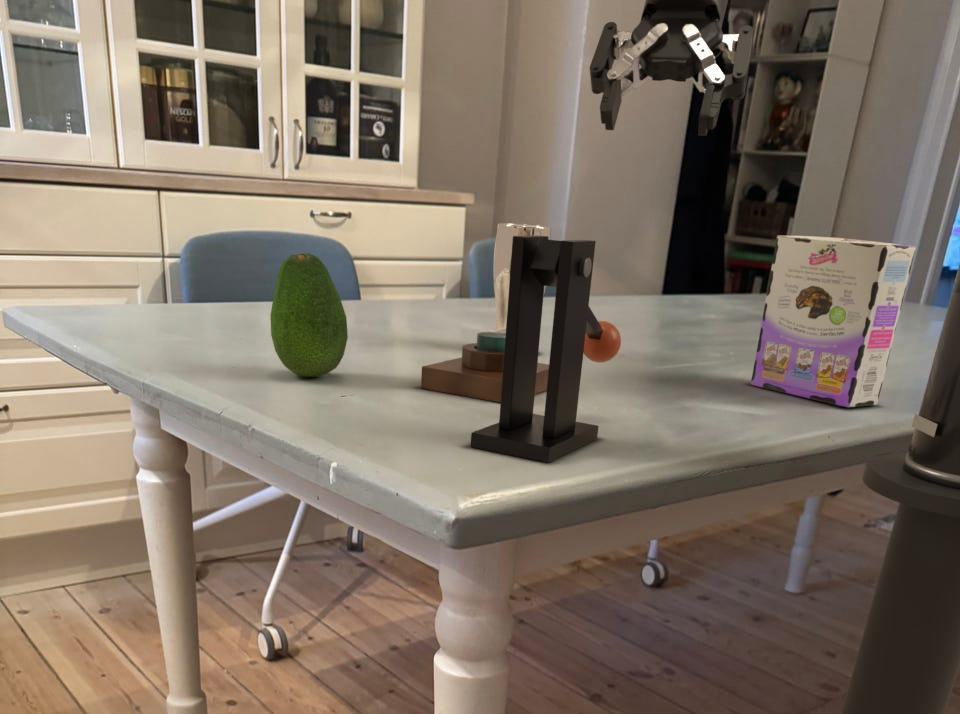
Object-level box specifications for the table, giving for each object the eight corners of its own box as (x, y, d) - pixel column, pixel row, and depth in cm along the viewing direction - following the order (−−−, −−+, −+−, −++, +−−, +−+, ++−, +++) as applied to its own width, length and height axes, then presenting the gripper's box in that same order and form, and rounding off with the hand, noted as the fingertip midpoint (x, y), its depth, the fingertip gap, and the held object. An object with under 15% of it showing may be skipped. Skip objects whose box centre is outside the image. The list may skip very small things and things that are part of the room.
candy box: (879, 406, 103) (920, 245, 95) (847, 410, 99) (886, 243, 92) (779, 381, 112) (809, 234, 105) (747, 384, 109) (775, 232, 102)
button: (516, 352, 97) (518, 335, 96) (500, 356, 94) (502, 338, 93) (486, 348, 98) (487, 330, 98) (470, 351, 96) (471, 334, 95)
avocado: (259, 372, 97) (254, 248, 92) (326, 368, 101) (325, 250, 96) (292, 387, 91) (289, 256, 86) (362, 382, 96) (363, 257, 90)
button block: (557, 386, 101) (561, 348, 99) (506, 403, 91) (510, 361, 89) (477, 373, 105) (479, 336, 103) (420, 388, 95) (422, 347, 93)
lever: (582, 365, 87) (594, 329, 87) (618, 371, 85) (630, 334, 85) (518, 274, 71) (532, 229, 71) (561, 279, 69) (575, 233, 70)
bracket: (525, 425, 83) (541, 233, 76) (597, 439, 80) (621, 241, 73) (470, 447, 75) (483, 235, 68) (548, 463, 72) (569, 243, 65)
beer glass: (533, 348, 124) (544, 225, 117) (547, 357, 118) (559, 228, 111) (482, 346, 122) (490, 222, 116) (494, 355, 116) (503, 225, 109)
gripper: (614, -53, 86) (574, 87, 82) (771, -52, 83) (737, 94, 79) (618, 21, 93) (582, 153, 89) (763, 24, 90) (732, 162, 86)
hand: (655, 125), depth 84 cm, fingers open, 8 cm apart
